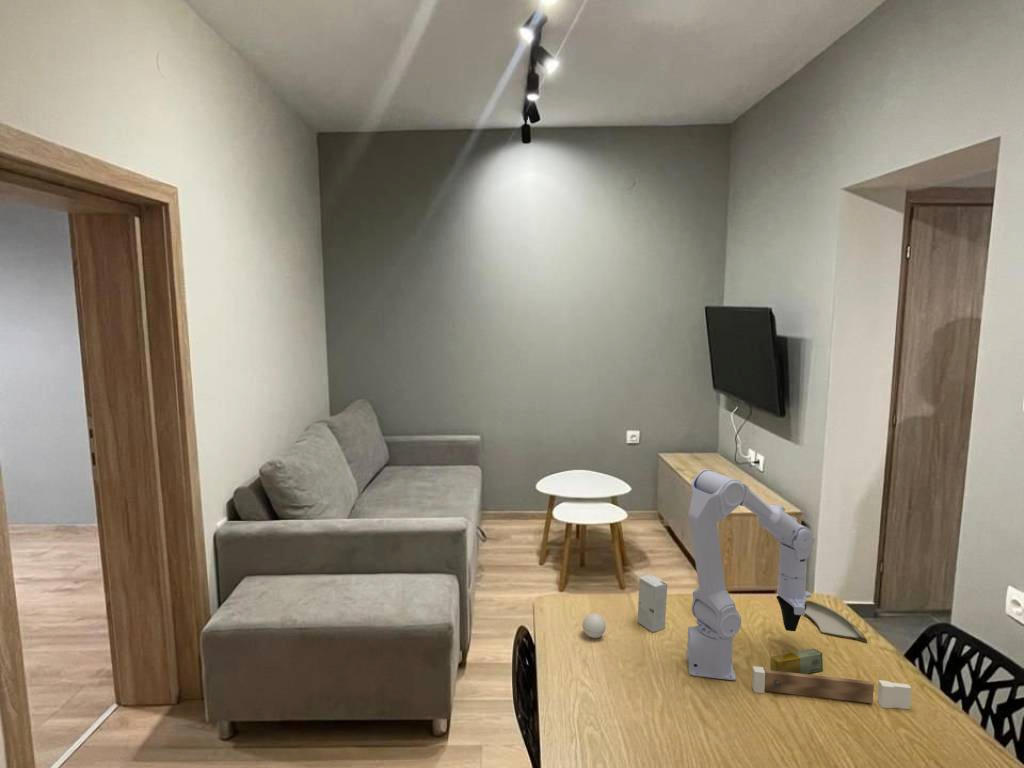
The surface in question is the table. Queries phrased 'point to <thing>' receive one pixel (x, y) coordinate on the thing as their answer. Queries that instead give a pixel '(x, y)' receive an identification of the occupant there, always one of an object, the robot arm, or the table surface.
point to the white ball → (594, 625)
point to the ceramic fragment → (832, 622)
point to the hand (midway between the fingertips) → (790, 629)
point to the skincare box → (652, 602)
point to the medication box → (798, 662)
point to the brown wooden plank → (819, 686)
